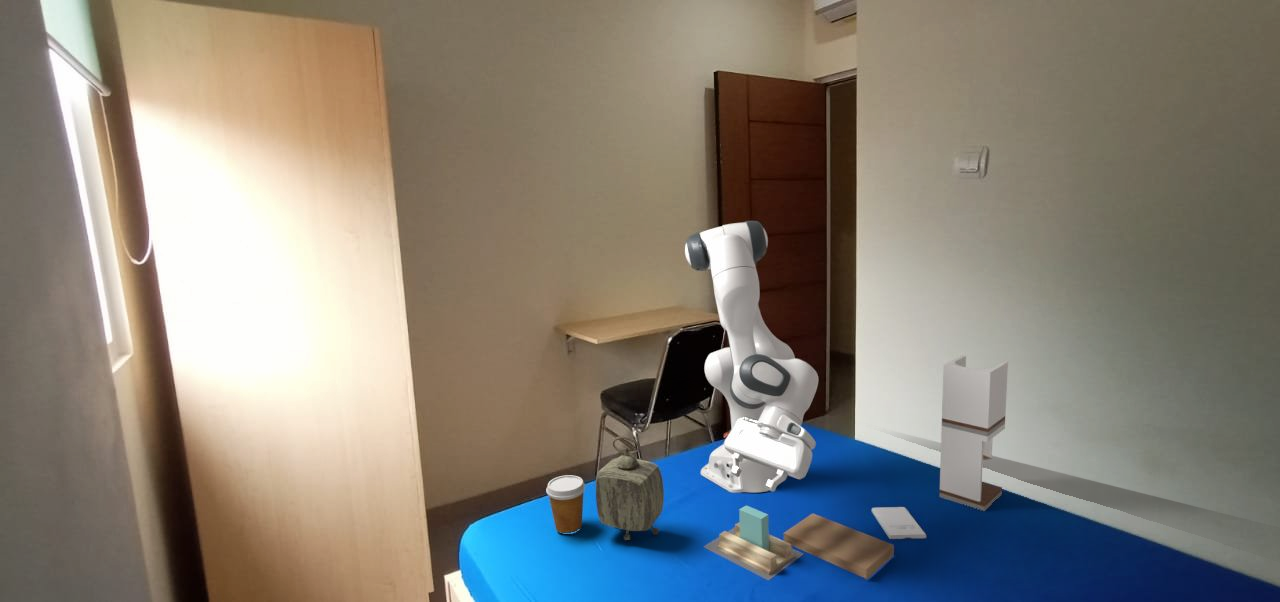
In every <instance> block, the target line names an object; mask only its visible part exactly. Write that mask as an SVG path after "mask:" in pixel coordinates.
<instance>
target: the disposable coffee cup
mask: <svg viewBox="0 0 1280 602" xmlns="http://www.w3.org/2000/svg"><path fill="white" fill-rule="evenodd" d="M585 489H586V484H585V483H584V480H583V479H582V477H580V476H577V475H574V474H573V475H572V474H571V475H570V474H569V475H568V474H565V475H561V476H557V477H554V478H552V479H551V480H550V481H549V482H548V483H547V487H546V490H545V491H546V494H547V496H548V498H549V499H548V500H549V503H550V507H551V512H552V516H553V521H554V526H555V527H554V528H555V531H556V530H557V531H558V532H561V533H571V532H575V531H577V530H578V529H580V528H581V526H582V527H583V524H582V523H583V512H584V511H583V509H584V507H583V506H584V492H585ZM581 529H582V528H581ZM557 531H556V532H557Z"/></svg>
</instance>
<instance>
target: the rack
mask: <svg viewBox="0 0 1280 602" xmlns="http://www.w3.org/2000/svg"><path fill="white" fill-rule="evenodd" d="M734 528H735V535H733V534H731V533H729V532H728V531H726V530H723V531H722V532H721V533H719V535H718V537H719V540H720V545H718V546H717V547H718V550H720V551H722V552H724V553H726V554H728V555H730V556H732V557H734V558H736V559H738V560H740V561H742V562H744V563H746V564H748V565H750V566H752V567H754V568H756V569H758V570H760V571H762V572H764V573H766V574H768V575H770V574H771V573H772V572H774V571H775V570H776V569H778V568H779V567H780V566H782V565H783V564H785V563H786V562H787V561H789V560H790V559H791V558H793V557H794V553H792V550H791V548H792V545H791V544H790V543H787V542H785V541H784V539H780V538H778V537H776V536H774V535H771V534H769V551H767V550H765V549H762V548H760V547H758V546H756V545H754V544H752V543H750V542H748V541H746V540H743V539H741V538H740V521H739V522H737V523H735V524H734Z"/></svg>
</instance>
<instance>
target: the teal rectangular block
mask: <svg viewBox="0 0 1280 602" xmlns="http://www.w3.org/2000/svg"><path fill="white" fill-rule="evenodd" d="M738 511H739V513H738V514H739V515H738V516H739V522H740V538H741V539H743V540H746V541H748V542H750V543H752V544H754V545H756V546H758V547H760V548H762V549H765V550H767V551H769V535H770V532H769V513H768V514H767V513H765V512H763V511H760V510H758V509H756V508H753V507H751V506H749V505H745V506H743V507H741V508H739V509H738Z"/></svg>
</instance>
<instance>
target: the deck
mask: <svg viewBox="0 0 1280 602" xmlns="http://www.w3.org/2000/svg"><path fill="white" fill-rule="evenodd" d="M783 541H785V542H787V543H790V544H791V547H795V548H797V549H798V550H801V551H803V552H806V553H808V554H810V555H812V556H814V557H817V558H819V559H821V560H824V561H825V562H828V563H831V564H832V565H834V566H837V567H839V568H841V569H843V570H846V571H848V572H850V573H852V574H854V575H857V576H859V577H862V578H864V579H865V581H867V580H869V579H870V578H871V577H872V576H873V575H875V573H877V571H879V570H880V569H881V568H882V567H883V566H884V565H885V564H886V563H887V562H888V561H890V560H891V559H892V558H893V557H894V556H895V555H894V553H895V551H894V550H895V546H894V544H892V543H890V542H887V541H884V540H883V539H882V540H881V539H879V538H878V537H874V536H872V535H869V534H867V533H864V532H861V531H859V530H856V529H854V528H851V527H850V526H846V525H844V524H841V523H839V522H837V521H833V520H831V519H829V518H826V517H823V516H821V515H819V514H815V513H813V512H812V513H811V514H809V515H808V516H806V517H805V518H804V519H801V520H800V521H799V522H797V523H796V524H795V525H793V526H792V527H789V529H787V530H786V531H785V532H783Z"/></svg>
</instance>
